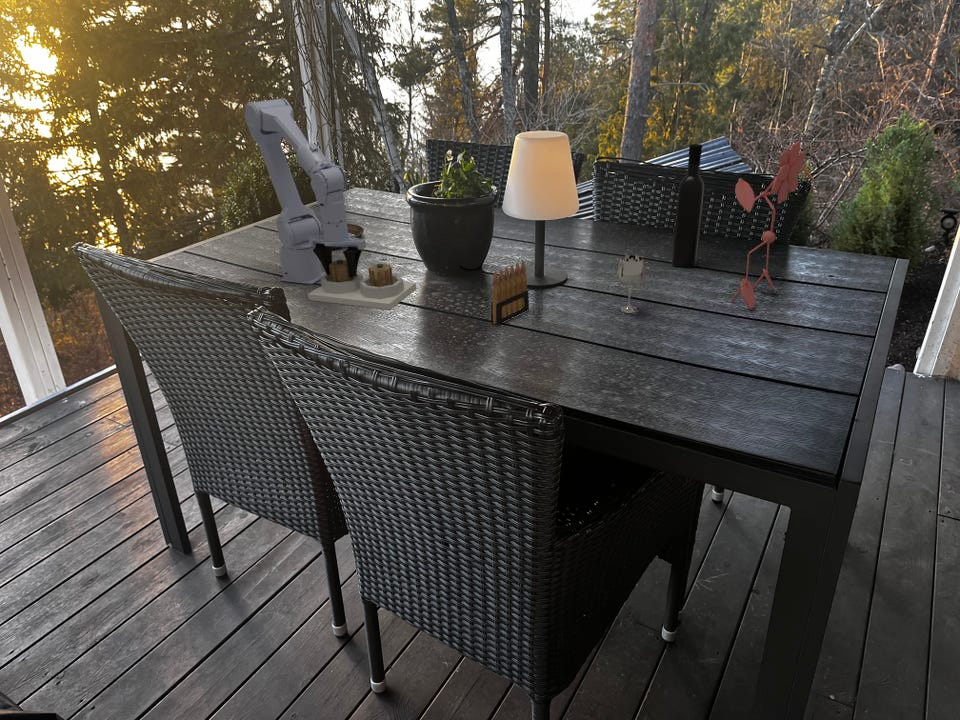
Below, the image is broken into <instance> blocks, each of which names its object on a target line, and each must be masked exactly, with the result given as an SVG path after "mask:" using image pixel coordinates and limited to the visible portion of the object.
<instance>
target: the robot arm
mask: <svg viewBox="0 0 960 720" xmlns="http://www.w3.org/2000/svg"><path fill="white" fill-rule="evenodd" d="M244 120H245V123H246V125H247V128H248V131H249V133H250V136H251V138H252V140H253V142H256V143H257V145H258V148H259V151H260V153H261V156H262V159H263V161H264V164H265V166H266V169H267V172H268V174H269V177H270V180H271V183H272V186H273V188H274V190H275V191H274V192H275V193H276V194H275V195H277V196H276V197H277V198H278V201H279V205H280V208H281V212H280V213H279V214H278V216H277V218H276V220H275V223H276V227H277V235H278V238H279V241H280V242H281V244H282V246H281V247H280V251H279V261H280V262H279V263H280V267H281V268H280V269H281V274H282V278H281V281H282V282H289V283H297V284H298V283H299V284H304V285H305V284H306V285H314V284H315V283H316V282H318V281H321V277H322V276H324V275H330V269H329V264H331V262H333V249H332V246H336V247H341V248H346V249H345V250H343V251H342V254H343V256H344V258H345V260H346V261H347V265H348V271H349V276H350V278H353V277H355V276H356V275H357V271H358V267H359V262H360V261H359V260H360V258H361V254H362V252H363V250H364V249H366V248H367V245H366V239H364V238H363V239H362V238H359V239H358V238H354V237H351V236H348V229H347V224H348V222H347V215H346V214H347V213H346V205H345V199H344V191H345V190H346V189H347V186H348V181H347V176H346V173H345V171H344V170H343V168H342V167H341V166H339V165H336V164H335V163H333V162H330V161H329V159H328V158H327V157H326V155H324V153H323V151H321V149H320V148H319V147H318V146H317V144H315V143H309V141H308V139H307V138H306V137H305V135H304V134H303V132H302V130H301V129H300V128H299V125H298V124H297V123H296V121H295V116H294V108H293V107H292V106H291V104H290V103H289V101H288V100H287V99H286V98H284V97H280V98H278V99H277V98H276V99H269V100H261V101H255V102H254V101H249V102H247V104H246V106H245V109H244ZM282 138H283V139H284V140H285V141H286V143H288V144H289V146H290V147H292V148H293V150H294V151H295V152H296V155H295V159H296V161H297V163H298V164H299V165H300V166H301V168H302V169H303V170H304V171H305V173H306V174H307V176H308V177H309V178H310V186H311V189H312V191H313V193H314V195H315V201H316V202H317V203H318V204H319V212H320V219H321V222H320V220H319V219H318V217H317V215H316V214H315V211H314V210H313V208H311V207H308V206H306V205H304V204H303V202H302V199H301V197H300V194H299V191H298V189H297V185H296V183H295V180H294V177H293V175H292V171H291V169H290V166H289V162H288V161H287V158H286V155H285V153H284V150H283V146H282V145H281V141H282ZM321 225H322V226H321ZM322 227H323V234H324V235H322ZM321 265H322V267H323V270H324V271H322V269H321Z"/></svg>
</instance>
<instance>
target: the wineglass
mask: <svg viewBox="0 0 960 720" xmlns="http://www.w3.org/2000/svg"><path fill="white" fill-rule="evenodd" d="M619 259H620V260H619V263H618V267H617V276H616V277H617V280H618V281H619V283H620V285H622V286H624V287H627V304H626V305H623V306H624V307H622V306H621V307H622V308H621V310H622V312H623V311H624V312H626V313H632V312H635V311H637V309H636V308H637V307H636V306H633V305H631V296H632V293H633V289H632V288H635V287H637V286H639V285H641V284H642V283H643V281H644V278H645V273H646V272H645V270H646V269H645V263H644V258H643V257H642V256H640V255H636V254H628V255H623V256H621V257H620V258H619ZM632 306H633V307H632ZM635 307H636V308H635Z"/></svg>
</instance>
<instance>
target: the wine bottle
mask: <svg viewBox="0 0 960 720" xmlns="http://www.w3.org/2000/svg"><path fill="white" fill-rule="evenodd" d="M688 147H689V149H688V162H687V163H688V164H687V171H686V175H685V176H684V177H683V178H682V179H681V182H680V183H679V188H678V194H677V205H676V216H675V225H674V227H675V229H674V236H673V237H674V238H673V249H672V259H671V265H672V266H673V267H675V266H682V267H681V268H686V267H693V268H694V267H695V266H696V264H697V259H698V258H697V257H698V249H699V248H698V247H699V242H700V241H699V239H700V230H701V220H702V213H703V212H702V211H703V205H704V203H703V202H704V196H705V195H704V194H705V183H704V180H703V178H702V176H700V169H701V168H700V167H701V156H702V154H703V153H702V151H703V150H702V149H703V144H698V143H692V144H689V145H688Z"/></svg>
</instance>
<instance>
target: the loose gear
mask: <svg viewBox="0 0 960 720" xmlns="http://www.w3.org/2000/svg"><path fill="white" fill-rule="evenodd" d="M329 269H330V277H331V282H338V283H340V282H345V281H351V280H353V278H350V276H349V271H348V265H347V261H346V259H337V260H334V261H333V260H332V262H331V264H329Z"/></svg>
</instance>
